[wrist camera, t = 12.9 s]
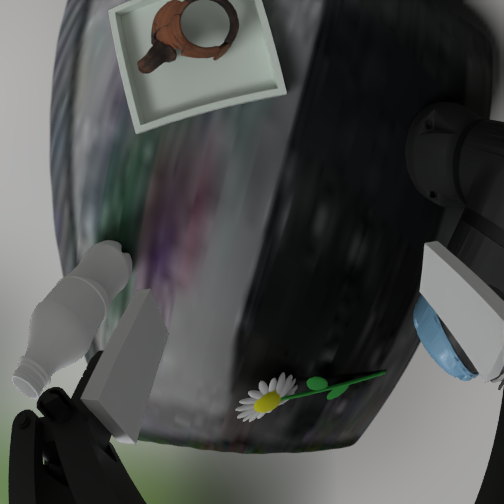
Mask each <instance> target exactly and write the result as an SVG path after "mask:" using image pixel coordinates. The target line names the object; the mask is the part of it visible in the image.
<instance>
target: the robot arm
mask: <svg viewBox="0 0 504 504" xmlns="http://www.w3.org/2000/svg"><path fill="white" fill-rule="evenodd" d="M405 158H406V165H407V169H408V173H409V176H410V178H411V180H412V182H413V184H414V186H415V187H416V189H417V190H418V191H419V192H420V193H421V194H422V195H423V196H424V197H425V198H427V199H428V200H430V201H432V202H434V203H435V204H437V205H440V206H443V207H447V208H465V210H464V212H463V214H462V217H461V219H460V220H459V223H458V225H457V227H456V229H455V231H454V233H453V236H452V238H451V240H450V242H449V244H448V246H447V248H445V247H444V246H443V245H441V244H440V243H439V242H438V241H435V242H429V243H425V246H424V258H423V268H422V277H421V285H420V293H421V296H420V297H419V299H418V301H417V303H416V305H415V308H414V324H415V327H416V330H417V333H418V336H419V338H420V340H421V342H422V343H423V345H424V347H425V349H426V350H427V351H428V353H429V354H430V356H431V357H432V358H433V359H434V360H435V361H436V363H437V364H438V365H439V366H441V368H442V369H444V370H445V371H446V372H447V373H448V374H450V375H451V376H453V377H455V378H456V377H458V378H459V379H460V380H463V381H468V380H471V379H472V378H475V377H476V376H478V374H480V376H481V377H482V379H483V380H484V382H485V383H486V382H488V381H491V382H493V383H494V382H498V381H502V382H501V384H500V385H499V388H498V390H500V389H501V388H502V386H503V385H504V122H501V121H495V120H488V119H484V118H483V117H481V116H479V115H478V114H476V113H475V112H473V111H472V110H470V109H468V108H467V107H465V106H463V105H460V104H457V103H453V102H436V103H432V104H430V105H428V106H426V107H425V108H423V109H422V110H421V111H420V112H419V113H418V114H417V115H416V117H415V118H414V120H413V122H412V123H411V126H410V128H409V131H408V134H407V138H406V146H405ZM168 335H169V333H168V330H167V328H166V326H165V323H164V321H163V319H162V316H161V314H160V311H159V309H158V306H157V304H156V302H155V299H154V297H153V294H152V291H151V289H146V290H138V291H136V292H135V294H134V296H133V298H132V299H131V301H130V303H129V305H128V307H127V308H126V310H125V312H124V314H123V316H122V317H121V319H120V321H119V323H118V325H117V327H116V328H115V330H114V332H113V334H112V336H111V338H110V340H109V342H108V344H107V345H106V347H105V349H104V351H98V352H97V353H96V354H95V355H94V356H93V357H92V358H91V360H90V362H89V364H88V366H87V370H85V371H84V373H83V377H82V378H81V379H80V381H79V384H78V385H77V388H76V390H75V391H74V394H73V396H72V398H71V399H70V397H69V396H68V395H67V394H66V392H65V391H64V390H63V389H62V388H60V387H53V388H50V389H48V390H46V391H45V392H43V393H42V395H41V396H40V397H39V399H38V401H37V409H38V410H39V411H40V412H41V413H42V414H43V415H44V416H45V417H40V418H39V417H38V416H37V415H36V414H35V413H34V412H33V411H31V410H24V411H22V412H20V413H19V414H18V415H17V416H16V417H15V419H14V421H13V425H12V433H11V444H10V456H9V457H10V458H9V504H146V502H145V501H144V499H143V498H142V496H141V494H140V493H139V491H138V490H137V488H136V486H135V485H134V483H133V481H132V480H131V478H130V476H129V475H128V473H127V471H126V469H125V467H124V466H123V464H122V462H121V460H120V458H119V456H118V455H117V453H116V451H115V449H114V447H113V445H112V444H111V443H110V442H109V441H110V438H111V435H113V437H115V439H116V440H117V441H118V442H120V443H121V442H122V443H130V444H136V442H137V439H138V435H139V431H140V428H141V424H142V420H143V417H144V413H145V410H146V406H147V403H148V399H149V396H150V393H151V389H152V386H153V382H154V379H155V376H156V373H157V369H158V366H159V363H160V360H161V357H162V353H163V350H164V347H165V344H166V341H167V338H168ZM43 459H44V460H45V461H44V465H43ZM475 504H504V389H503V397H502V404H501V410H500V416H499V421H498V426H497V431H496V435H495V440H494V444H493V448H492V452H491V456H490V460H489V463H488V466H487V470H486V473H485V476H484V479H483V482H482V485H481V488H480V491H479V493H478V496H477V499H476V501H475Z"/></svg>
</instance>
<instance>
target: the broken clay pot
mask: <svg viewBox="0 0 504 504" xmlns="http://www.w3.org/2000/svg"><path fill="white" fill-rule="evenodd" d="M195 1H198V0H184V1H183V2H181V1H179V0H171V1H169V2H167V3H166V4H165V5H163V7H162V8H160V9H159V11H158V12H157V13H156V15H155V17H154V20H153V24H152V30H151V44H152V45H153V46H152V47H151V48H150V49H149V51H148V52H147V54H146V55H145V56H144V57H143V58H142V59H141V60H139V61H138V62H137V65H138V70H139V71H140V72H141V73H143V74H149V73H151V72H153V71H154V70H155V69H157V68H158V67H159V66H160V65H162V64H163V63H165V62H168V63H170V62H172V61H175V60H176V57H177V52H176V50H175V49H180V50H182V51H181V56H186V57H192V58H212V57H214V58H213V60H218V59H219V58H220V57H221V56H223V55H224V54H225V53H226V52H227V51H228V49H229V48H230V47H231V45H232V43H233V42H234V40H235V38H236V36H237V33H238V30H239V19H238V17H237V16H238V15H237V12H236V10H235V8H234V7H233V5H232V4H231V3H230V2H229V1H228V0H210V1H213V2H216V3H218V4H219V5H220V6H221V7H223V8H224V10H225V11H226V13H227V15H228V17H229V22H230V28H229V32H228V34H227V37H226V38H225V40H224V43H222V44H221V45H220V46H213V47H201V46H197V45H195V44H193V43H192V42H190V41H188V39H187V38H186V37H185V36H184V34H183V32H182V29H181V16H182V14H183V12H184V10H185V9H186V7H188V6H189V5H190V4H191V3H193V2H195Z"/></svg>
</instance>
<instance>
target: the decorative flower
mask: <svg viewBox="0 0 504 504" xmlns="http://www.w3.org/2000/svg"><path fill="white" fill-rule="evenodd" d="M383 374H385V370H384V371H380V372H377V373H374V374H371V375H367V376H364V377H361V378H357V379H354V380H350V381H347V382H343V383H339V384H335V385H331V386H327V381H326V380H325V379H324V378H322V377H312V378H309V379H308V380H307V386H308V387H309V388H310V389H312V390H311V391H306V392H302V393H297V394H294V393H295V390H296V389H297V387H298V386H297V385H296V386H294V387H293V385H294V384H295V382H296V378H295V379H294V380H293V381H292V378H293V376H292V375H290V376H289V377H288V378H287V379H286V380H285V373H284V372H283V373H282V374H281V375H280V377H279V379H278V382H277V380H276V378H273V379H272V380H271V382H270V384H269V388H268V386H267V384H266V383H265V382H264V381H261V382H260V383H259V390H260V392H259V391H256V390H251V391H249V392H248V394H249V395H250V396H251V397H253V398H246V399H242V400H240V401H239V403H241V404H246V405H242V406H240V407H238V408H236V409H235V410H236V411H243V412H242V413H240V414H239V415H238V417H237V418H243V417H245V416H246V417H245V418H244V419H243V421H246V420H248V419H249V418H250V420H249V422H251V421H253V420H254V419H255V418H256V417H257V419H259V418H261V417H262V416H263V415H264V414H265V413H270V412H271V411H272V410H273V409H274V408H276V407H277V406H278V405H281V404H283V403H285V402H286V401H287V400H289V399H292V398H297V397H302V396H306V395H311V394H315V393H319V392H323V391H327V390H331V389H333V390H332V391H331V392H330V393H329V394H328V396H327V399H333V398H336V397H338V396H339V395H341V394H342V393H343V392H344V391H345V390H346V389H347V388H348V386H349V385H350V384H353V383H357V382H360V381H364V380H367V379H370V378H373V377H376V376H380V375H383ZM276 384H277V386H276ZM244 410H245V411H244Z"/></svg>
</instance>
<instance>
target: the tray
mask: <svg viewBox="0 0 504 504" xmlns="http://www.w3.org/2000/svg"><path fill="white" fill-rule="evenodd" d="M169 1H171V0H131V1H128V2H126V3H124V4H121V5H119V6H117V7H115V8H113V9H110V10H108V12H109V18H110V24H111V29H112V35H113V40H114V45H115V50H116V54H117V59H118V64H119V68H120V73H121V77H122V81H123V85H124V90H125V94H126V98H127V102H128V106H129V110H130V113H131V117H132V121H133V125H134V128H135V132H136V134H139V133H144V132H146V131H149V130H152V129H155V128H158V127H161V126H164V125H167V124H170V123H173V122H177V121H180V120H183V119H186V118H190V117H193V116H197V115H200V114H204V113H207V112H211V111H215V110H219V109H223V108H227V107H231V106H235V105H239V104H244V103H248V102H253V101H258V100H263V99H268V98H273V97H278V96H284V95H286V94H287V92H286V87H285V83H284V79H283V75H282V71H281V67H280V63H279V59H278V56H277V52H276V48H275V44H274V41H273V37H272V34H271V30H270V26H269V23H268V20H267V16H266V13H265V9H264V6H263V3H262V0H228V1H229V2H230V3H231V4H232V5H233V7H234V8H235V10H236V12H237V15H238V16H237V17H238V19H239V30H238V33H237V36H236V38H235V40H234V42H233V43H232V45H231V47H230V48H229V49H228V51H227V52H226V53H225V54H224V55H223V56H221V57H220V58H219V59H218V60H213V58H214V57H212V58H192V57H186V56H181V51H182V50H180V49H175V50H176V52H177V57H176V60H175V61H172V62H170V63H168V62H165V63H163V64H162V65H160V66H159V67H158V68H157V69H155V70H154V71H153V72H151V73H149V74H143V73H141V72H140V71H139V70H138V65H137V62H138V61H139V60H141V59H142V58H143V57H144V56H145V55H146V54H147V52H148V51H149V49H150V48H151V47H152V46H153V45H152V44H151V30H152V24H153V20H154V17H155V15H156V13H157V12H158V11H159V9H160V8H162V7H163V5H165V4H166V3H167V2H169ZM179 1H181V2H183V1H184V0H179ZM229 28H230V22H229V17H228V15H227V13H226V11H225V10H224V8H223V7H221V6H220V5H219V4H218V3H216V2H213V1H210V0H198V1H195V2H193V3H191V4H190V5H189V6H188V7H186V9H185V10H184V12H183V14H182V16H181V29H182V32H183V34H184V36H185V37H186V38H187V39H188V41H190V42H192V43H193V44H195V45H197V46H201V47H213V46H220V45H221V44H222V43H224V40H225V38H226V37H227V34H228V32H229Z"/></svg>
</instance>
